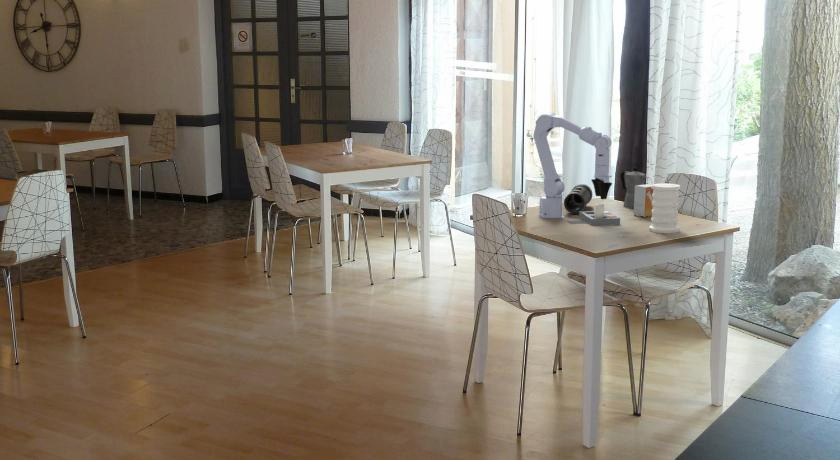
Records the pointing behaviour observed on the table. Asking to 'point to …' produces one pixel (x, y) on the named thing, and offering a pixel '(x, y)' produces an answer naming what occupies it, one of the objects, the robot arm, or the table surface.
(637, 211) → the small box
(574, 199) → the muzzle brake
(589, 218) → the socket board
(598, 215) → the plug
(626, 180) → the coffeepot
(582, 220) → the plug mat
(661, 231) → the decorative container
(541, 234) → the table surface
